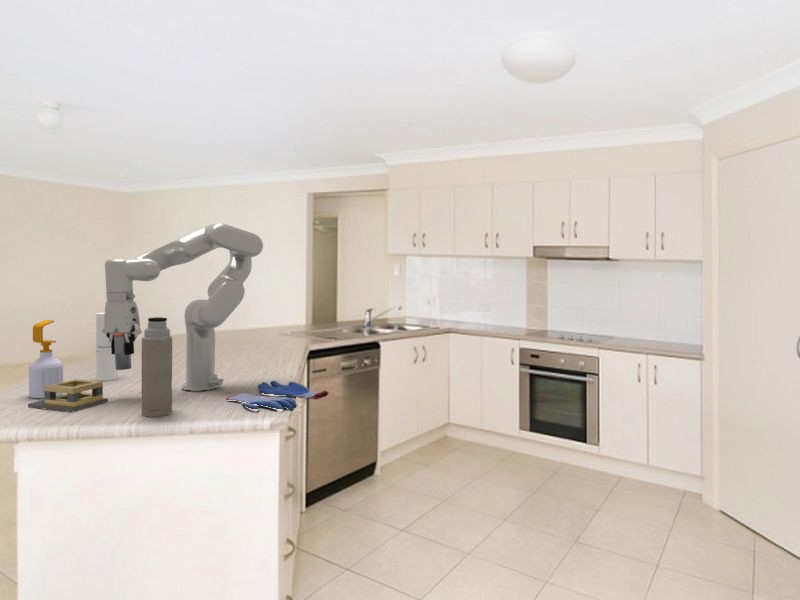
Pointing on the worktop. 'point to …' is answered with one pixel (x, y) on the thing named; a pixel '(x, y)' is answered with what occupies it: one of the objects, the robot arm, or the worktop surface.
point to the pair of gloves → (278, 389)
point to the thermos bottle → (156, 368)
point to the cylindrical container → (104, 353)
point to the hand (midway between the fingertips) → (122, 353)
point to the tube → (121, 351)
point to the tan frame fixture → (71, 395)
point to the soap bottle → (44, 365)
